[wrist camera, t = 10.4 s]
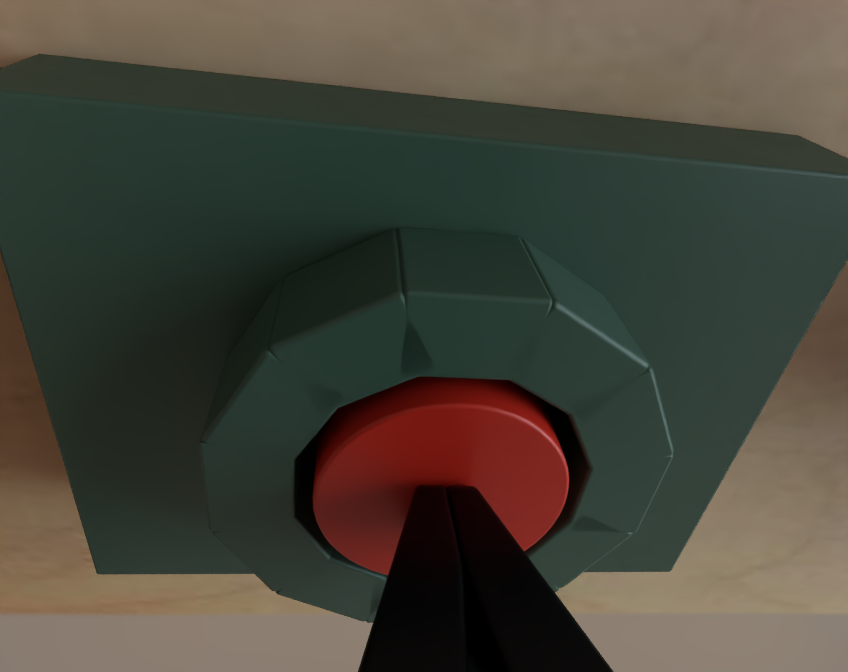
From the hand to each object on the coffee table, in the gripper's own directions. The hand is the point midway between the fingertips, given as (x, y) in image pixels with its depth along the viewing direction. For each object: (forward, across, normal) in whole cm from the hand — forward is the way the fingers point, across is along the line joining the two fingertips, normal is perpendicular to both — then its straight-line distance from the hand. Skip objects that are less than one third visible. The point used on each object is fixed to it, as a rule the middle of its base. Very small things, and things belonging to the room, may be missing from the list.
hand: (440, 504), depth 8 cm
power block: (+4, 0, 0) cm, 4 cm away
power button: (+2, 0, 0) cm, 2 cm away
